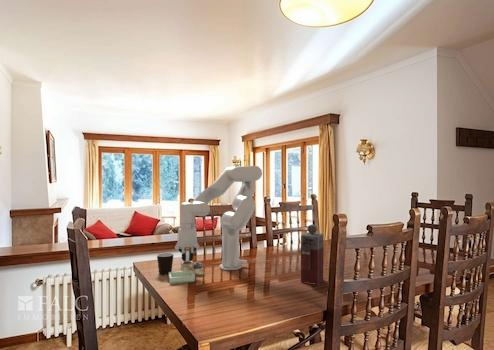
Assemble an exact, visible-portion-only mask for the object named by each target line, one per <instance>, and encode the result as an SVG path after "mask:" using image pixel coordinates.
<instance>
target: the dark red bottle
mask: <svg viewBox="0 0 494 350" xmlns="http://www.w3.org/2000/svg"><path fill="white" fill-rule="evenodd" d="M317 231H318V227H317V226H316V225H315V224H310V225H308V226H307V232H305V233H303V234H301V235H300V283H302V282H309V283H315V284H319V283H320V282H321V281H322V280H323V281H324V233H321V232H317ZM323 281H322V282H323ZM322 282H321V283H322ZM321 283H320V284H321ZM320 284H319V285H320Z"/></svg>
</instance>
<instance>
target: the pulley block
mask: <svg viewBox="0 0 494 350" xmlns="http://www.w3.org/2000/svg"><path fill="white" fill-rule="evenodd" d="M180 265H181V266H180V271H189V270H192V271H193V273H194V275H195V276H201V275H204V267H203V263H202V262H200V261H195V262H193V260H192V261H190V263H189V264H184V261H183V260H182V261H180Z"/></svg>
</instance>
